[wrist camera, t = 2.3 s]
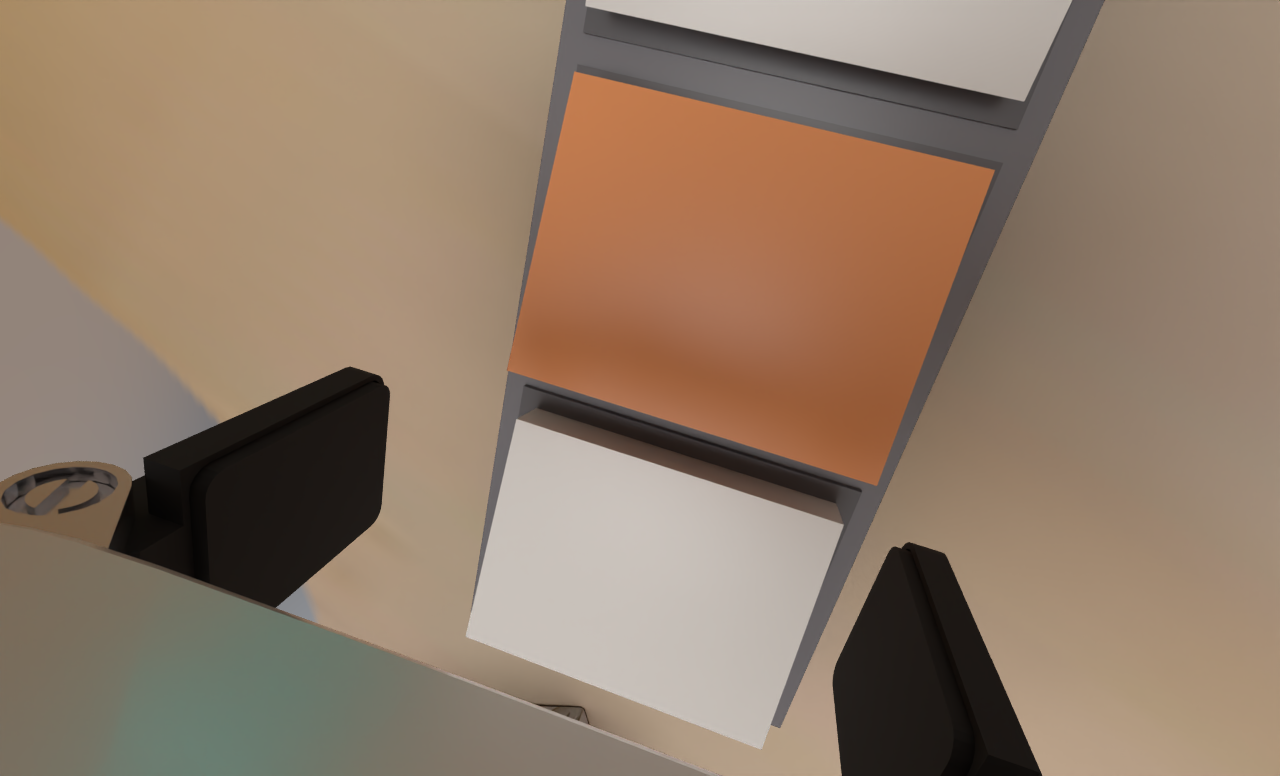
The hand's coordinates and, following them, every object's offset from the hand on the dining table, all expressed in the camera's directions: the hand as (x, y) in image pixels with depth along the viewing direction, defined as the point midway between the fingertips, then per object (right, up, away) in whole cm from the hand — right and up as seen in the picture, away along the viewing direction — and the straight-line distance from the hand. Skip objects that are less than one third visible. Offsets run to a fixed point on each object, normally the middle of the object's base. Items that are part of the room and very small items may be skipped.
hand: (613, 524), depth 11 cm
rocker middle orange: (+3, +5, +7) cm, 9 cm away
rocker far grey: (+1, -4, +10) cm, 11 cm away
